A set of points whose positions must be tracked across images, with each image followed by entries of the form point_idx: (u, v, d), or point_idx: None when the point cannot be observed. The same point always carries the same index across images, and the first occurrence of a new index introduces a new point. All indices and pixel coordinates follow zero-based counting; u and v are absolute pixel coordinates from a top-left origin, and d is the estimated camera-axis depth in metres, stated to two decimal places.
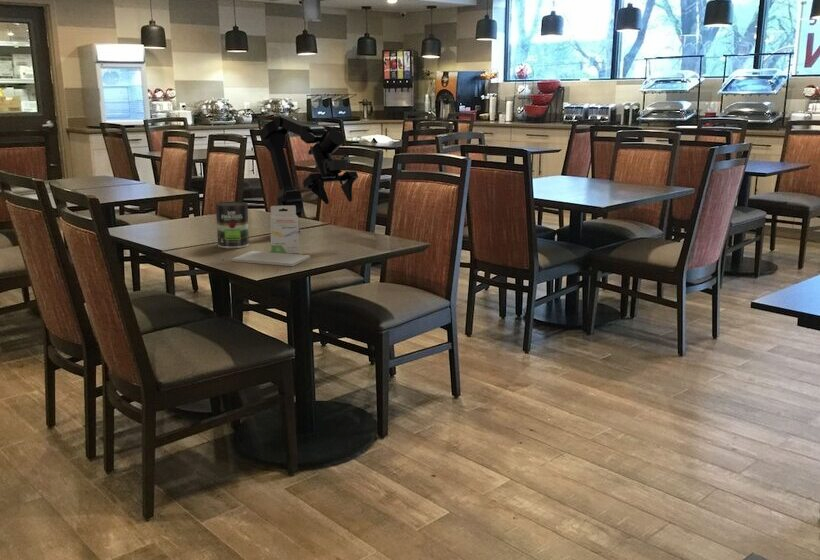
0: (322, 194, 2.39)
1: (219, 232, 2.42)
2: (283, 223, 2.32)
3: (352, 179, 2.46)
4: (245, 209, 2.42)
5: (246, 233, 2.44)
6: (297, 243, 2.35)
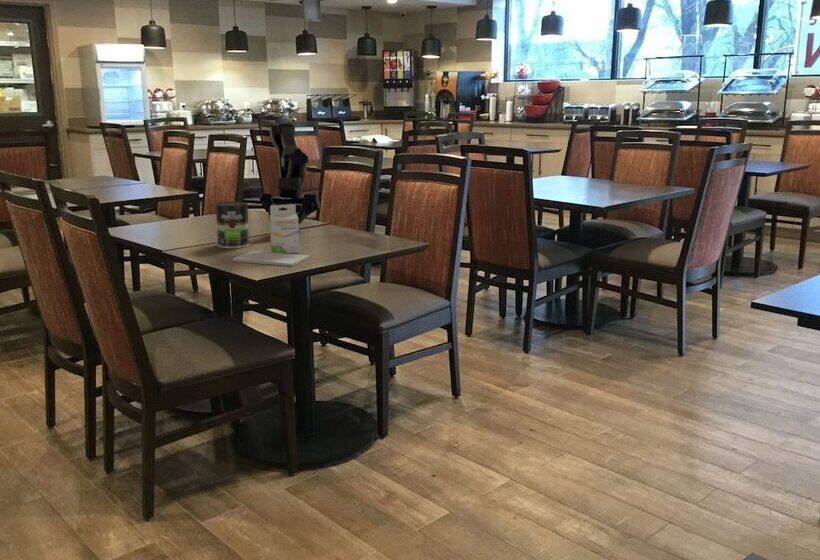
0: (269, 213, 2.36)
1: (219, 232, 2.42)
2: (283, 224, 2.30)
3: (306, 201, 2.33)
4: (245, 209, 2.42)
5: (246, 233, 2.44)
6: (297, 243, 2.34)
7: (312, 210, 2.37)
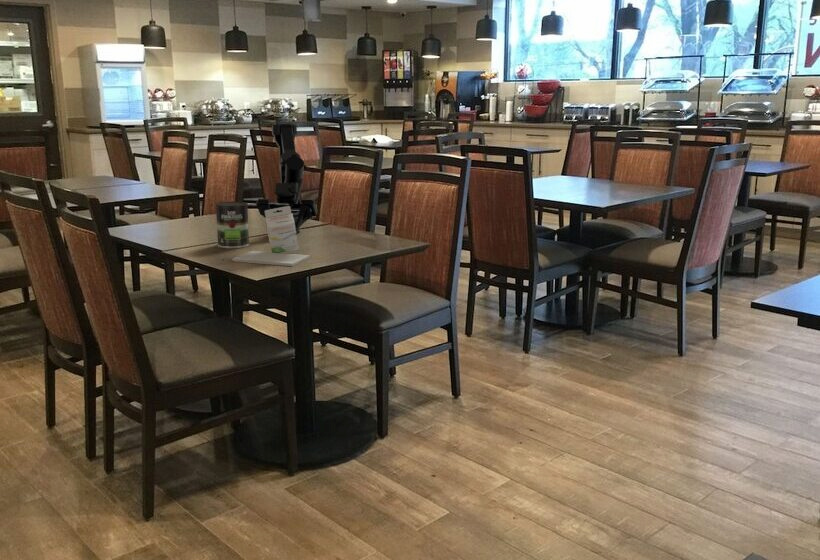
0: None
1: (219, 232, 2.42)
2: (280, 230, 2.27)
3: (303, 206, 2.31)
4: (245, 209, 2.42)
5: (246, 233, 2.44)
6: (296, 242, 2.32)
7: (309, 216, 2.34)
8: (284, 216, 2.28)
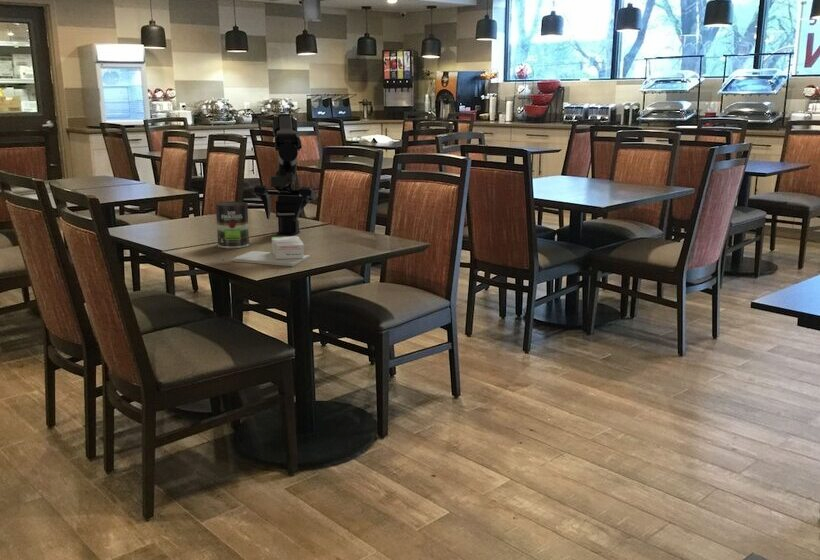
0: None
1: (219, 232, 2.42)
2: None
3: (300, 197, 2.28)
4: (245, 209, 2.42)
5: (246, 233, 2.44)
6: None
7: (307, 202, 2.32)
8: (295, 246, 2.23)
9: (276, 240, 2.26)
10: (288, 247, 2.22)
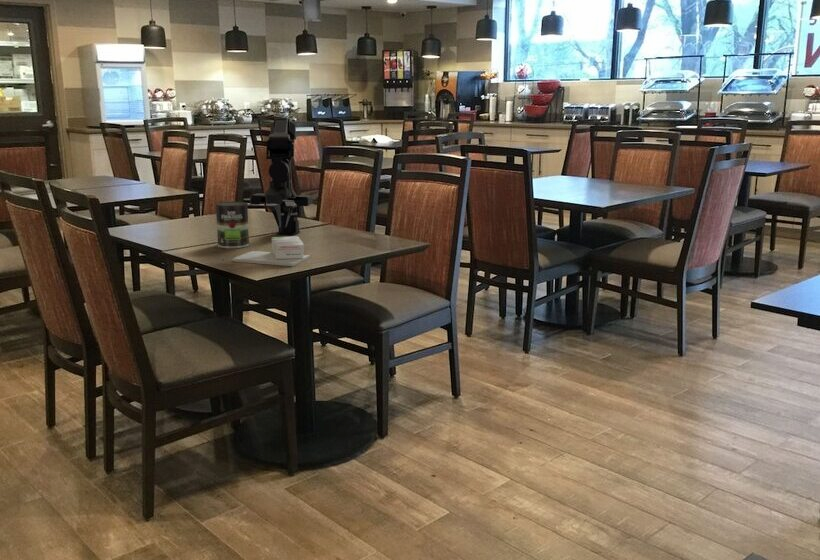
0: None
1: (219, 232, 2.42)
2: None
3: (286, 207, 2.28)
4: (245, 209, 2.42)
5: (246, 233, 2.44)
6: None
7: None
8: (295, 246, 2.23)
9: (276, 240, 2.26)
10: (288, 247, 2.22)
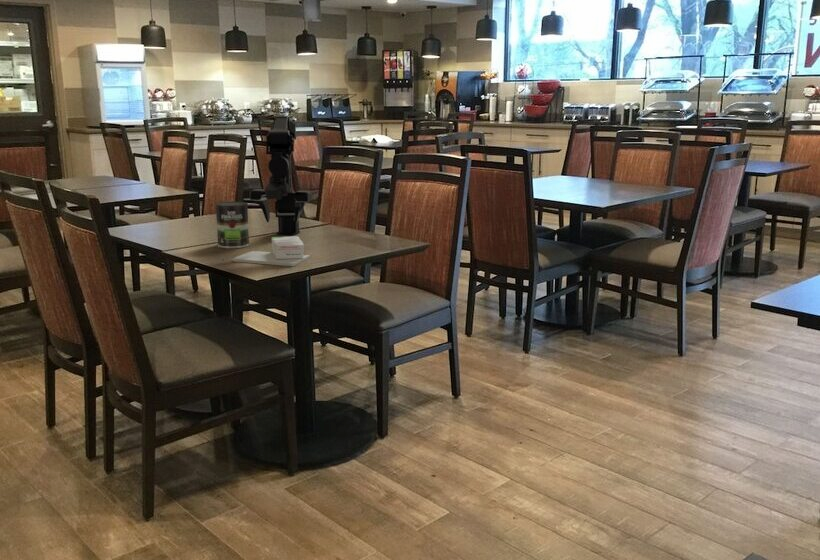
0: None
1: (219, 232, 2.42)
2: None
3: (298, 203, 2.27)
4: (245, 209, 2.42)
5: (246, 233, 2.44)
6: None
7: None
8: (295, 246, 2.23)
9: (276, 240, 2.26)
10: (288, 247, 2.22)
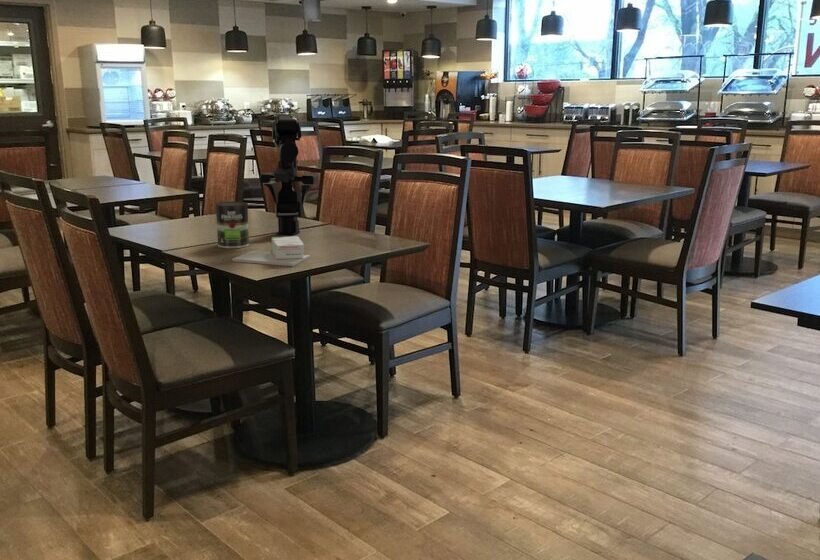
0: None
1: (219, 232, 2.42)
2: None
3: (304, 186, 2.45)
4: (245, 209, 2.42)
5: (246, 233, 2.44)
6: None
7: None
8: (295, 246, 2.23)
9: (276, 240, 2.26)
10: (288, 247, 2.22)
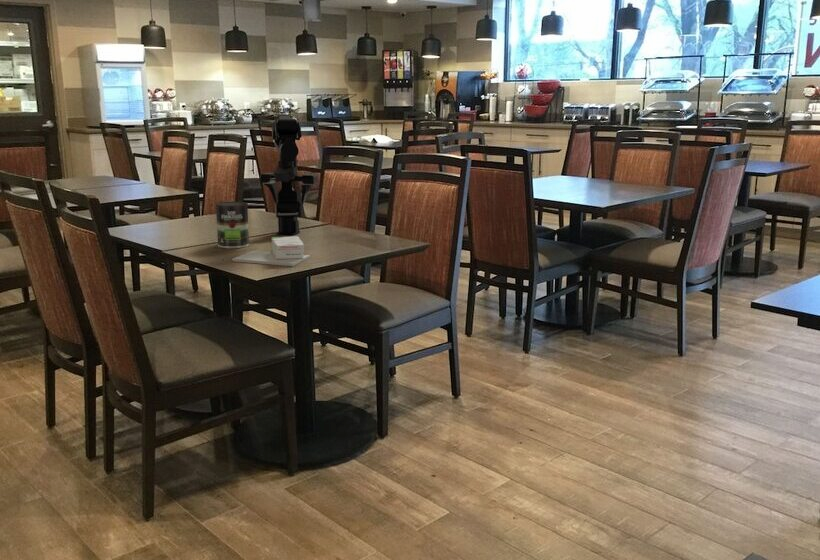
0: None
1: (219, 232, 2.42)
2: None
3: (304, 186, 2.45)
4: (245, 209, 2.42)
5: (246, 233, 2.44)
6: None
7: None
8: (295, 246, 2.23)
9: (276, 240, 2.26)
10: (288, 247, 2.22)
